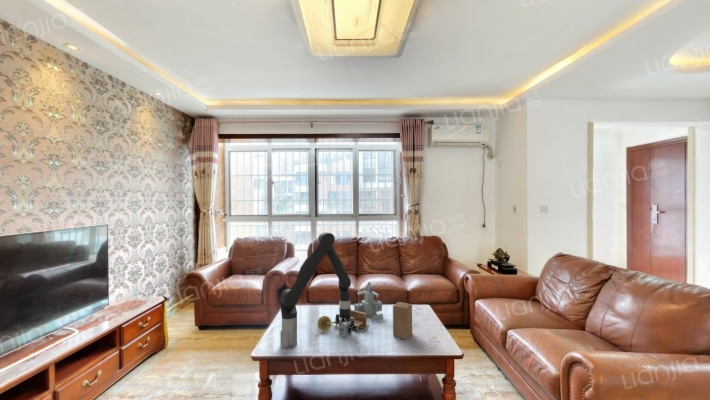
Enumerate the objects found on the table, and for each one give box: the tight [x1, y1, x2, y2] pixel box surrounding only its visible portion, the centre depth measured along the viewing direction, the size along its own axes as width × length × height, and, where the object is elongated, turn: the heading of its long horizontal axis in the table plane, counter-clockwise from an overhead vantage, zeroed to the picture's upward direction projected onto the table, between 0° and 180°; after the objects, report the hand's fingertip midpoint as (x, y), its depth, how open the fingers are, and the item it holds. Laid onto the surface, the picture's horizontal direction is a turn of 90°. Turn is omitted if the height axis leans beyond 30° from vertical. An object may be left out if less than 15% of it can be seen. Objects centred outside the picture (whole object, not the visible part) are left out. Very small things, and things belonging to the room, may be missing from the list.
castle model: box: [353, 281, 384, 321], centre depth 218 cm, size 17×17×25 cm
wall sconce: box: [316, 315, 339, 332], centre depth 193 cm, size 14×10×25 cm
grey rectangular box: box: [338, 322, 350, 337], centre depth 190 cm, size 8×5×6 cm, turn 148°
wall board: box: [342, 309, 370, 332], centre depth 202 cm, size 11×20×10 cm, turn 57°
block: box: [392, 301, 413, 340], centre depth 186 cm, size 10×10×20 cm
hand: (345, 331), depth 190 cm, fingers open, 6 cm apart
